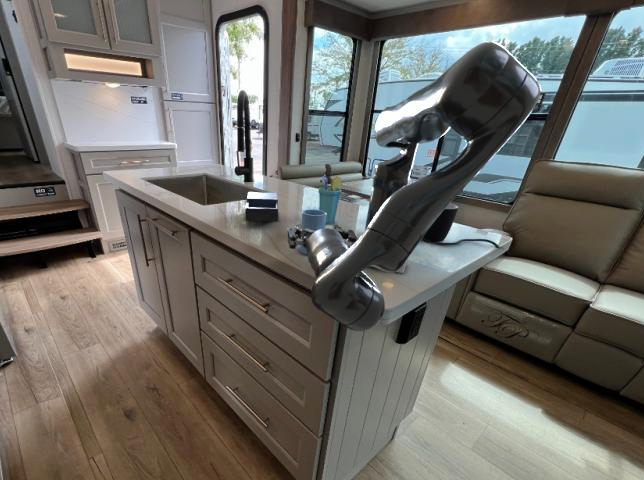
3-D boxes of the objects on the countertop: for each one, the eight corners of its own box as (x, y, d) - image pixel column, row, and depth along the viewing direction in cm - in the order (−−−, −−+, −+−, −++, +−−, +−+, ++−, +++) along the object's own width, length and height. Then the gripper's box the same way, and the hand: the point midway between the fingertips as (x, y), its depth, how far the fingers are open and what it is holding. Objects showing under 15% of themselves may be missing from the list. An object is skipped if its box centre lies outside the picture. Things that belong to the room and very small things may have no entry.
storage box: (276, 213, 113) (277, 193, 110) (278, 229, 97) (278, 206, 93) (248, 212, 113) (248, 192, 109) (245, 228, 96) (244, 205, 92)
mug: (450, 238, 96) (461, 204, 91) (444, 246, 90) (455, 210, 85) (411, 230, 102) (418, 198, 97) (402, 237, 95) (410, 203, 90)
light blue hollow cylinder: (320, 247, 85) (324, 209, 80) (323, 255, 80) (327, 216, 75) (298, 246, 84) (301, 209, 79) (300, 255, 79) (303, 215, 74)
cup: (328, 230, 98) (333, 179, 91) (305, 225, 101) (309, 176, 94) (343, 220, 109) (349, 174, 102) (323, 216, 112) (327, 171, 105)
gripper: (369, 236, 57) (349, 212, 71) (291, 234, 56) (286, 210, 70) (363, 273, 61) (345, 244, 75) (289, 272, 60) (285, 243, 74)
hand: (317, 228), depth 73 cm, fingers open, 8 cm apart
